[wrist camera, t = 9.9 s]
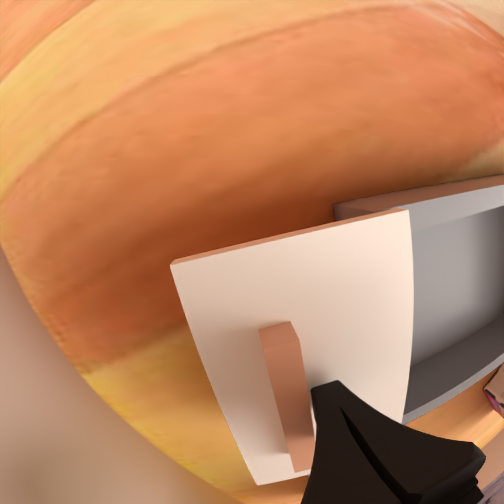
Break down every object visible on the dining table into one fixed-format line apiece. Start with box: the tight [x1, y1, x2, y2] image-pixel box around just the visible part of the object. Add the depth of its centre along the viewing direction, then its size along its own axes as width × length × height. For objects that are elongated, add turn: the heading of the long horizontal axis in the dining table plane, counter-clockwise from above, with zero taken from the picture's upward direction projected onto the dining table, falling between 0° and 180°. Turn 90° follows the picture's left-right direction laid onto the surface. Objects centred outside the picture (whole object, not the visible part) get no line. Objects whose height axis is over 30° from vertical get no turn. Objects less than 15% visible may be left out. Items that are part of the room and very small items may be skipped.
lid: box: [170, 208, 414, 485], centre depth 11 cm, size 9×14×2 cm, turn 13°
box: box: [332, 174, 504, 425], centre depth 15 cm, size 18×14×5 cm
